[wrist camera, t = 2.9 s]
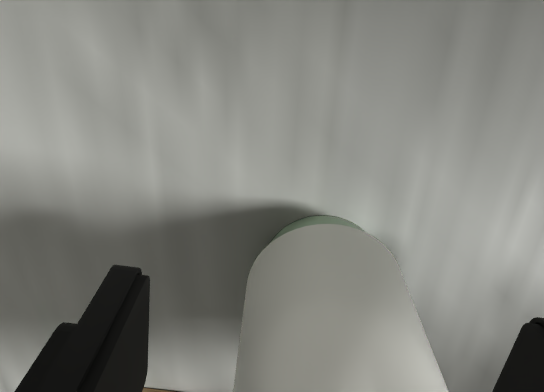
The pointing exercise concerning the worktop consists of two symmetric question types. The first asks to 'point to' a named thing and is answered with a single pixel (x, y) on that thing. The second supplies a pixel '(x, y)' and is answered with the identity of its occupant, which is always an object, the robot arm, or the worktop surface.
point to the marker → (331, 317)
